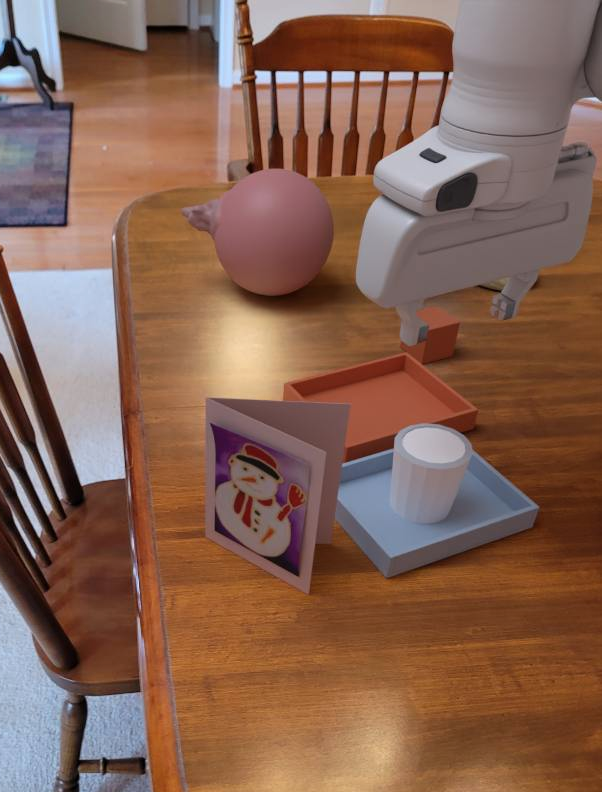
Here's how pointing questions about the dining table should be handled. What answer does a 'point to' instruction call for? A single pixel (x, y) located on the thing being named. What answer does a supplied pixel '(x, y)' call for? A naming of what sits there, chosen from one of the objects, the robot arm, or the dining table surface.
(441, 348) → the terracotta block
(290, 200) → the balloon
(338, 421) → the greeting card
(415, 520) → the white yogurt tub
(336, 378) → the terracotta tray
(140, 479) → the dining table surface
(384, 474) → the blue tray
